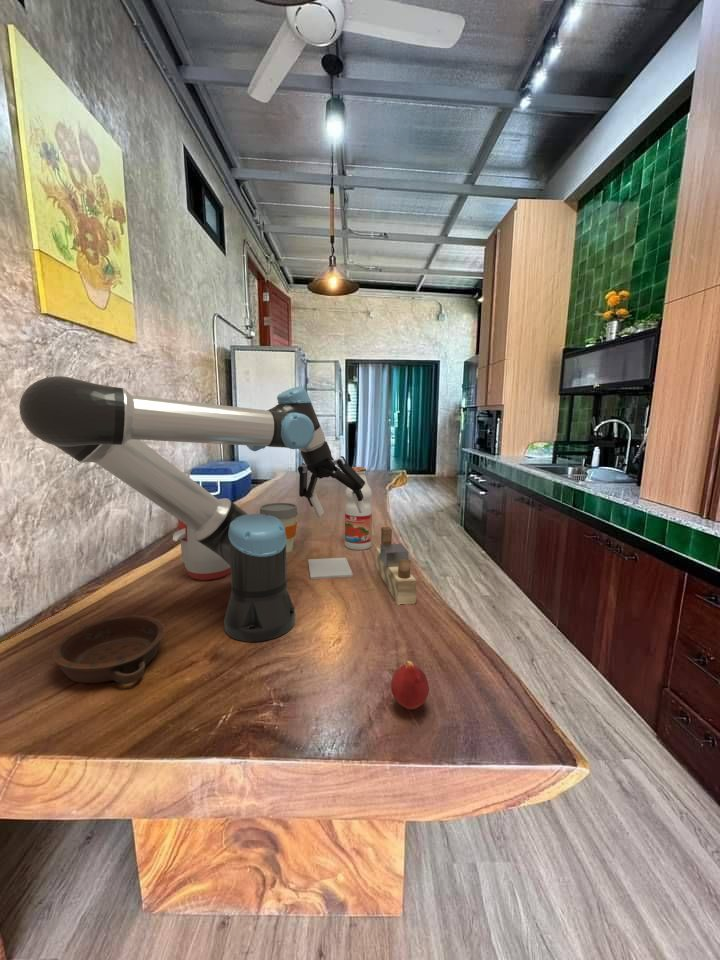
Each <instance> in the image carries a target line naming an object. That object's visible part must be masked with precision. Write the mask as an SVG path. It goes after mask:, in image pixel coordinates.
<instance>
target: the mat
mask: <svg viewBox="0 0 720 960" xmlns="http://www.w3.org/2000/svg"><path fill="white" fill-rule="evenodd" d="M307 562H308V569H309V570H308V571H309V574H310V575H309V578H310V580H315V579H317V580H318V579H332V578H334V579H335V578H353V576H354V574H353V571H352V568H351V567H350V564H349V561H348V559H347V557H335V558H334V557H332V558H331V557H330V558H316V559H315V558H314V559H313V558H312V559H310V558H309V559H308V560H307Z"/></svg>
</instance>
